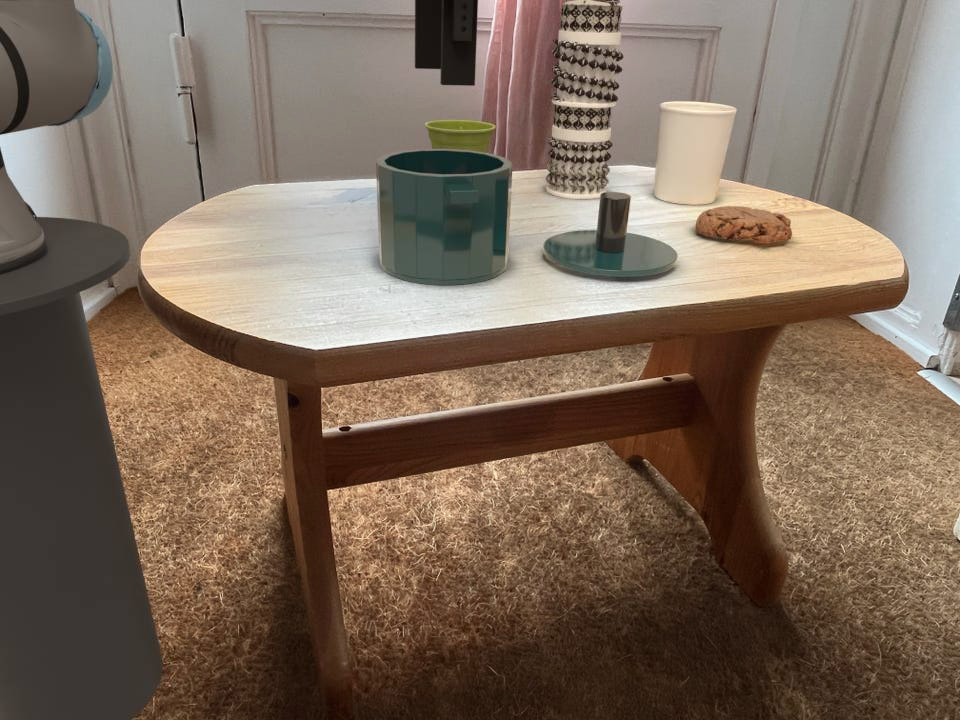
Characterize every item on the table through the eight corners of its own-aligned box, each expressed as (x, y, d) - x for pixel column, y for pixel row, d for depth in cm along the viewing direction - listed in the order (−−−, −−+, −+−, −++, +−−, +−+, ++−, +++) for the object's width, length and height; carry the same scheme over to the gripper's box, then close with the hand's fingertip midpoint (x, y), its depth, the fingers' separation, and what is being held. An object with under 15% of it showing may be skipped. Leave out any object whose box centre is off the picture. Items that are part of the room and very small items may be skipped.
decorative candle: (529, 188, 103) (540, -11, 92) (576, 181, 108) (592, -9, 97) (574, 202, 97) (592, -10, 86) (622, 194, 102) (645, -8, 91)
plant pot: (439, 179, 107) (439, 117, 103) (501, 185, 104) (503, 122, 101) (414, 193, 99) (414, 126, 95) (481, 200, 96) (483, 132, 93)
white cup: (721, 193, 104) (736, 104, 99) (720, 209, 96) (737, 113, 91) (651, 186, 107) (662, 99, 101) (644, 202, 98) (657, 108, 93)
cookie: (680, 225, 88) (684, 200, 87) (759, 222, 91) (764, 198, 89) (721, 250, 80) (726, 223, 78) (808, 247, 82) (814, 220, 81)
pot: (392, 299, 64) (389, 184, 60) (371, 239, 80) (367, 144, 75) (530, 291, 67) (537, 181, 62) (483, 234, 83) (486, 143, 78)
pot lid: (568, 286, 68) (574, 215, 65) (526, 243, 80) (530, 181, 77) (700, 278, 71) (712, 210, 68) (641, 238, 83) (649, 178, 80)
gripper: (544, -261, 46) (521, 94, 56) (461, -183, 68) (455, 64, 77) (426, -277, 45) (423, 92, 54) (380, -191, 66) (383, 62, 76)
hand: (442, 76), depth 66 cm, fingers open, 13 cm apart
